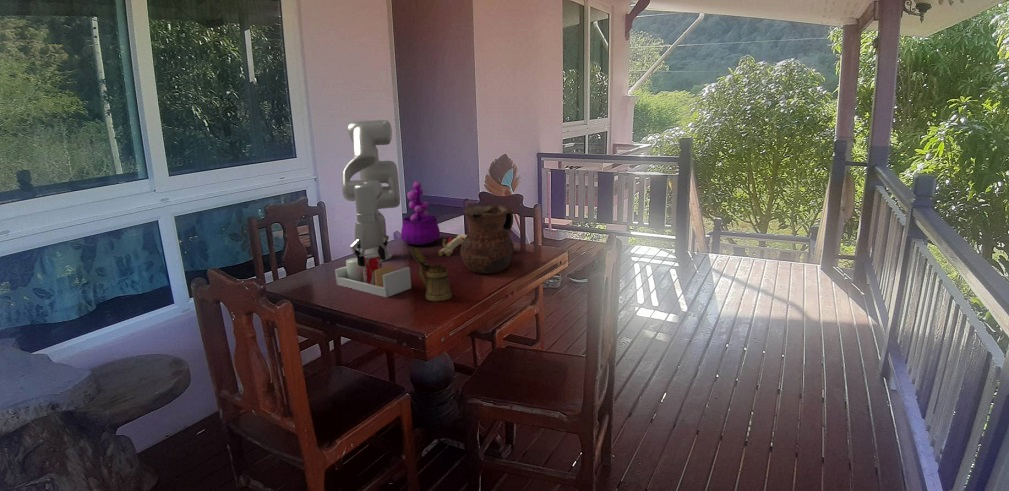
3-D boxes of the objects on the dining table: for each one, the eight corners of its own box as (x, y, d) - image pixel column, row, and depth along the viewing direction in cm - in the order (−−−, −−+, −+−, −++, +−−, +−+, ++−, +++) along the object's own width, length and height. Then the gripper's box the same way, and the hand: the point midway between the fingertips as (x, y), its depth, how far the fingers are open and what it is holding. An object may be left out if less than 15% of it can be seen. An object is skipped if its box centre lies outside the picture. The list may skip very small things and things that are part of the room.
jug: (495, 280, 222) (492, 215, 216) (450, 273, 233) (447, 211, 227) (524, 265, 240) (522, 205, 234) (482, 259, 251) (479, 201, 245)
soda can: (379, 289, 215) (376, 258, 212) (361, 289, 217) (358, 257, 214) (386, 283, 222) (384, 253, 219) (369, 283, 223) (366, 252, 221)
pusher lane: (336, 284, 223) (334, 264, 221) (361, 276, 232) (359, 257, 230) (386, 297, 207) (384, 275, 205) (411, 288, 216) (409, 267, 214)
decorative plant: (423, 250, 271) (418, 185, 264) (393, 245, 281) (388, 183, 274) (448, 241, 286) (444, 179, 279) (419, 237, 296) (415, 178, 289)
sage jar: (344, 283, 224) (342, 261, 222) (359, 279, 230) (356, 256, 227) (356, 286, 220) (353, 263, 218) (370, 281, 225) (368, 259, 223)
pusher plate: (376, 291, 212) (374, 270, 210) (393, 285, 219) (391, 264, 217) (377, 292, 212) (375, 270, 210) (395, 285, 218) (393, 265, 216)
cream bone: (454, 259, 258) (476, 241, 280) (453, 240, 255) (474, 224, 277) (434, 258, 261) (456, 241, 283) (432, 239, 258) (455, 223, 280)
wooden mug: (420, 292, 211) (416, 243, 207) (455, 294, 207) (452, 244, 203) (409, 300, 203) (405, 249, 198) (446, 302, 199) (443, 251, 195)
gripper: (379, 212, 222) (382, 255, 226) (341, 221, 209) (346, 267, 213) (392, 214, 217) (396, 258, 222) (355, 223, 204) (360, 270, 209)
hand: (372, 262), depth 218 cm, fingers open, 9 cm apart
